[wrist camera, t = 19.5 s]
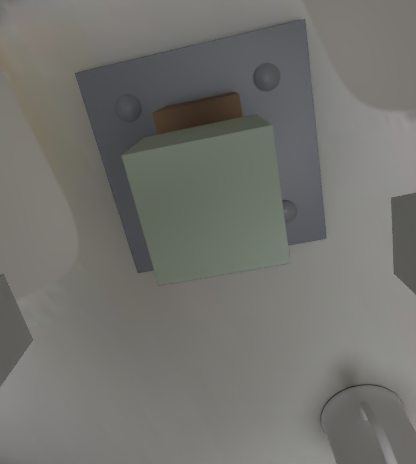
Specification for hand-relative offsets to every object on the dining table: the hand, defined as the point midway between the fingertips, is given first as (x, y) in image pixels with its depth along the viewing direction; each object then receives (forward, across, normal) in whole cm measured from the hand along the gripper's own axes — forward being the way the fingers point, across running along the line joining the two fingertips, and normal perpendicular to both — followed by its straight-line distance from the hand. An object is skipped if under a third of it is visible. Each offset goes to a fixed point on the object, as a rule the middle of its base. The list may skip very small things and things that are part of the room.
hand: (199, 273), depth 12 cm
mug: (+18, +11, -27) cm, 35 cm away
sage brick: (+11, +1, +1) cm, 11 cm away
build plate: (+18, +1, +1) cm, 18 cm away
